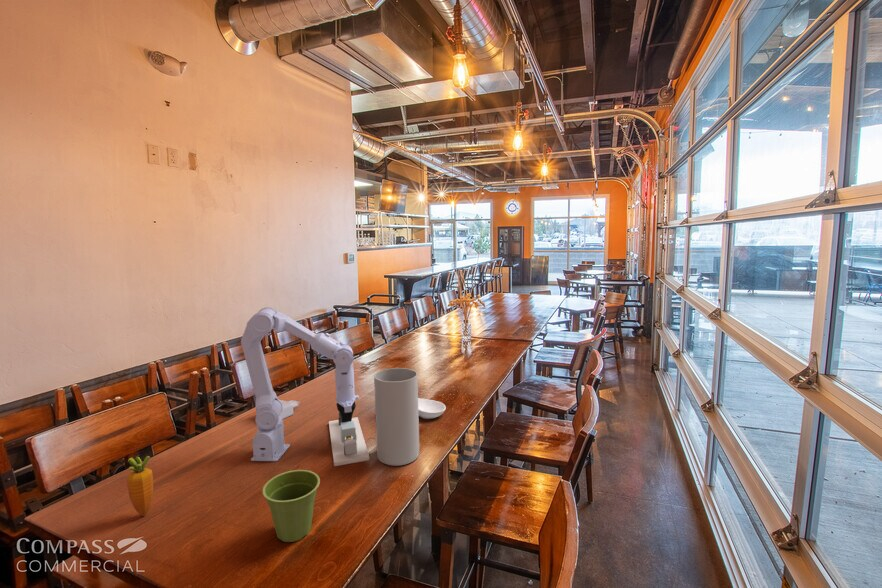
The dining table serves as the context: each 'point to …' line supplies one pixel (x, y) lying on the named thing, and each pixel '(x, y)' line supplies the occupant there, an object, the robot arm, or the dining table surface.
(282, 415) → the charger
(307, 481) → the plant pot
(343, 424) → the light grey sliding block
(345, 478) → the dining table surface
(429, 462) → the dining table surface
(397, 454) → the cylinder vase
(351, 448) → the white slide rail base
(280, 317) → the robot arm
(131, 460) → the carrot
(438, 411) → the spoon rest
